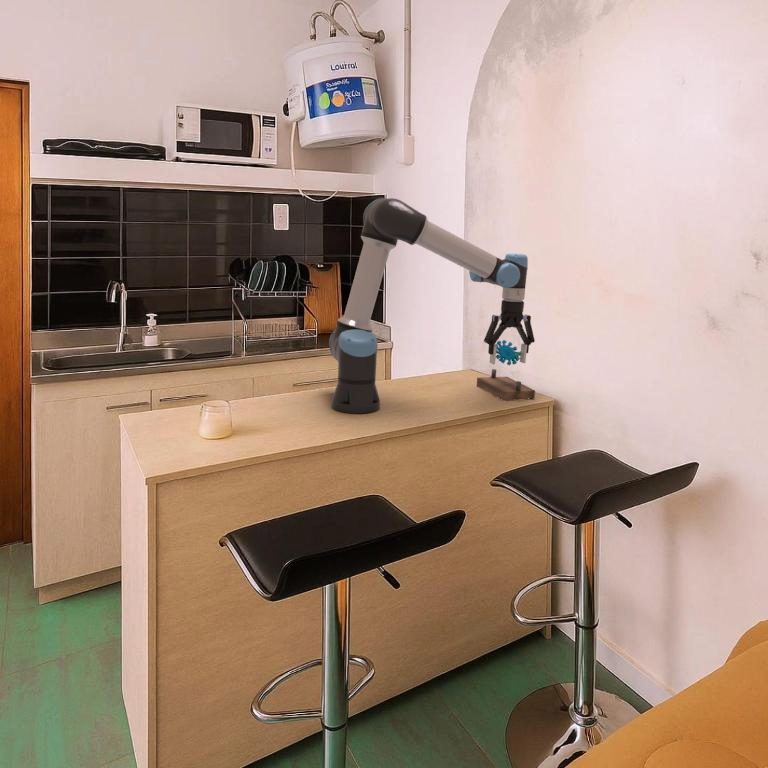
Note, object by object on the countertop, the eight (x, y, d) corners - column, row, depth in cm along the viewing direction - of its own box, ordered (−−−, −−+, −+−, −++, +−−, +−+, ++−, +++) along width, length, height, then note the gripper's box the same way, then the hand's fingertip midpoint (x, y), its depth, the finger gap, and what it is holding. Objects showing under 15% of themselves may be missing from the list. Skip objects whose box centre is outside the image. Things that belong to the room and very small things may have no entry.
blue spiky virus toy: (497, 361, 228) (492, 337, 233) (489, 370, 233) (485, 346, 238) (526, 365, 232) (520, 341, 237) (517, 373, 236) (512, 350, 241)
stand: (502, 400, 225) (504, 383, 224) (476, 385, 244) (477, 369, 242) (534, 399, 229) (536, 382, 228) (506, 384, 247) (507, 368, 246)
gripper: (486, 301, 221) (481, 366, 227) (549, 301, 229) (542, 364, 234) (476, 298, 228) (472, 361, 233) (537, 298, 235) (531, 359, 241)
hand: (507, 363), depth 234 cm, fingers closed on blue spiky virus toy, 11 cm apart
